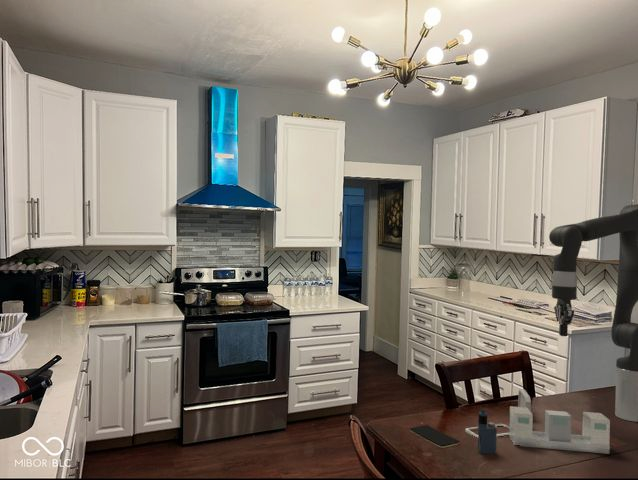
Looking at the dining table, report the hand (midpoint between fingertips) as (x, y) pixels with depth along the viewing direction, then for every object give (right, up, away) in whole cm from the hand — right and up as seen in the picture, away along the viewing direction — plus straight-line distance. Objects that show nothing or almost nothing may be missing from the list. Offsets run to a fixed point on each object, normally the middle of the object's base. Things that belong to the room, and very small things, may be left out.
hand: (563, 335), depth 166 cm
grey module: (-12, -27, -21) cm, 36 cm away
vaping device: (-35, -28, -27) cm, 53 cm away
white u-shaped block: (-12, -28, -21) cm, 37 cm away
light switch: (-11, -29, +5) cm, 32 cm away
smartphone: (-48, -28, -17) cm, 58 cm away
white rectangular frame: (-29, -29, -12) cm, 42 cm away
